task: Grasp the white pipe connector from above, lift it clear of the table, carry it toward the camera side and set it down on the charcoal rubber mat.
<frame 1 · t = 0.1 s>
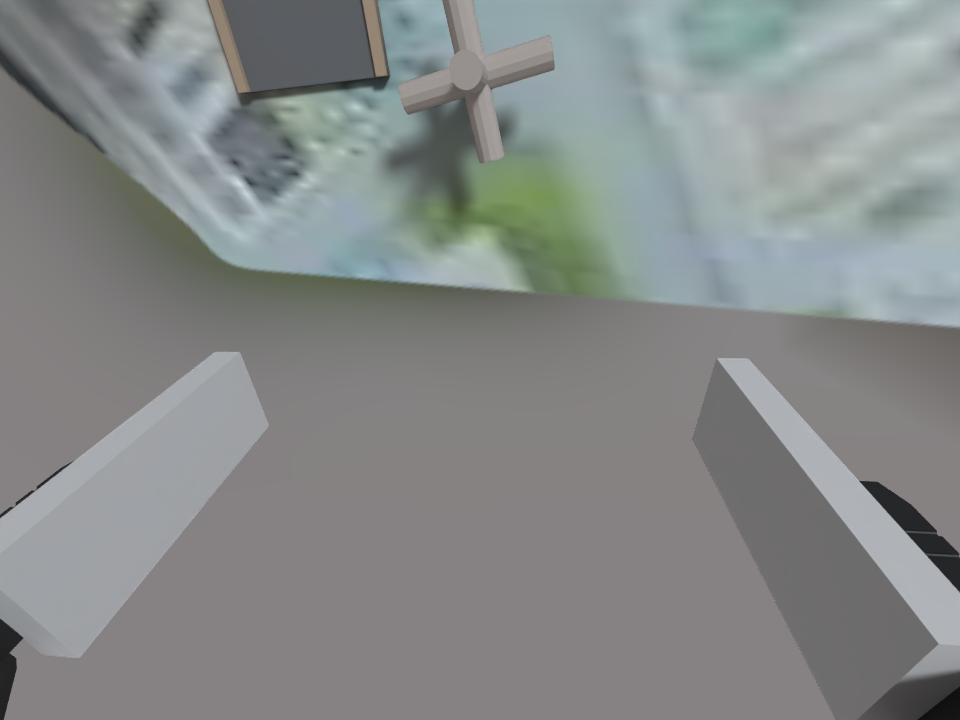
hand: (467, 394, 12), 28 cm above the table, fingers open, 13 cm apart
pipe connector: (482, 81, 31), on the table
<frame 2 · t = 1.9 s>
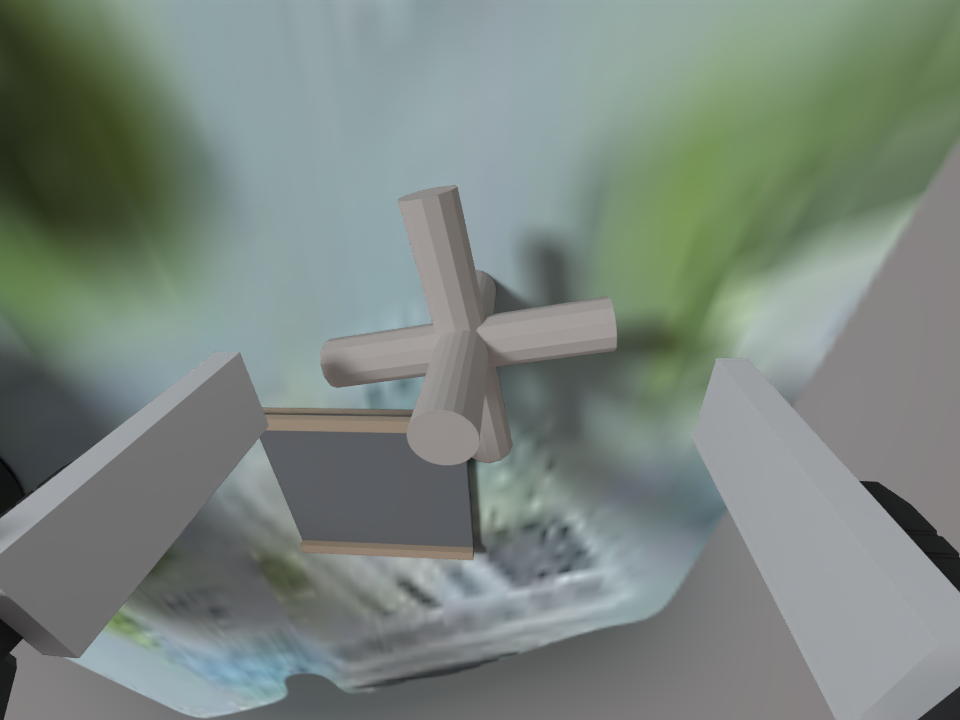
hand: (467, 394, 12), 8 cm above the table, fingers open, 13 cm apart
mat: (375, 484, 26), on the table
pipe connector: (476, 287, 19), on the table
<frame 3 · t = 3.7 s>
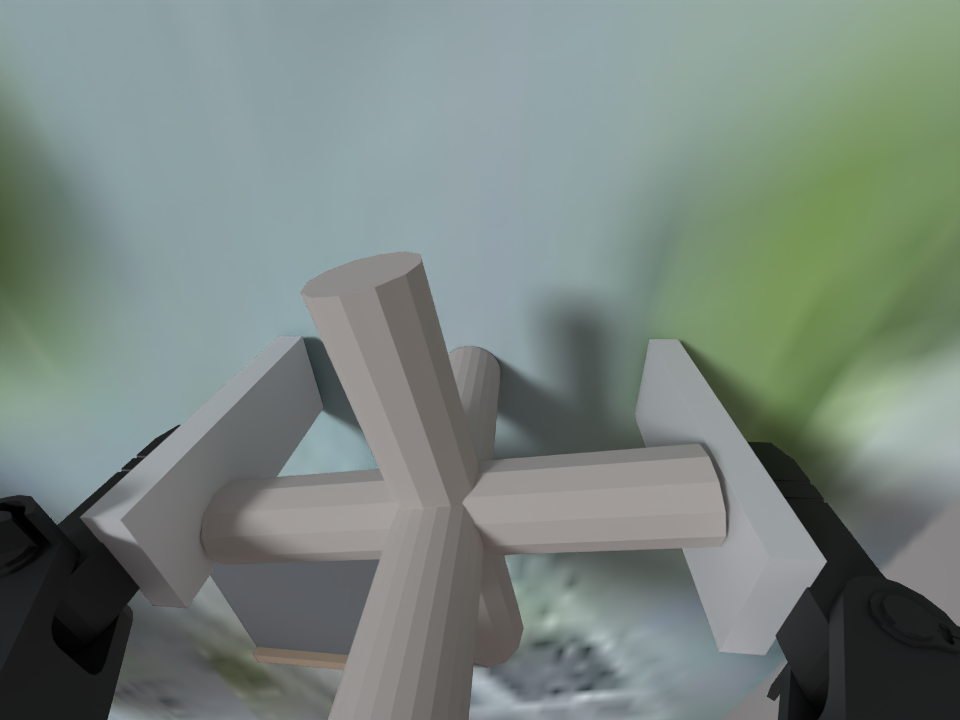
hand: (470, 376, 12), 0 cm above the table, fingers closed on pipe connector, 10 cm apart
mat: (344, 591, 20), on the table
pipe connector: (472, 368, 13), on the table, touching gripper
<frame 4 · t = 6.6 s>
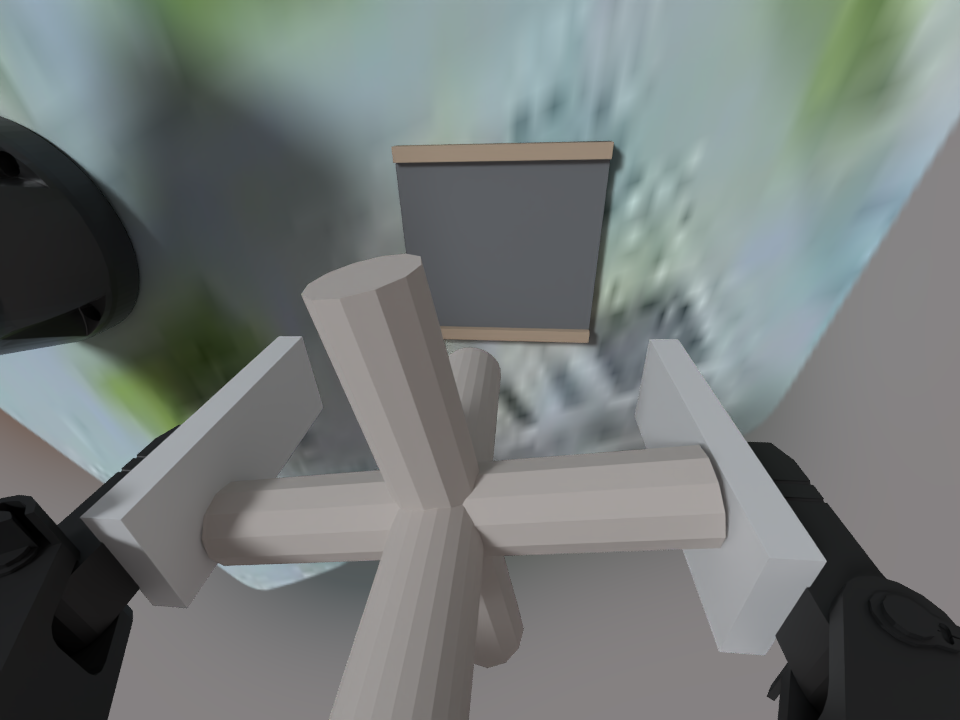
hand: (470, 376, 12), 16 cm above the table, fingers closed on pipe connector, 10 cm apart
mat: (500, 249, 26), on the table
pipe connector: (472, 369, 13), point 15 cm above the table, touching gripper
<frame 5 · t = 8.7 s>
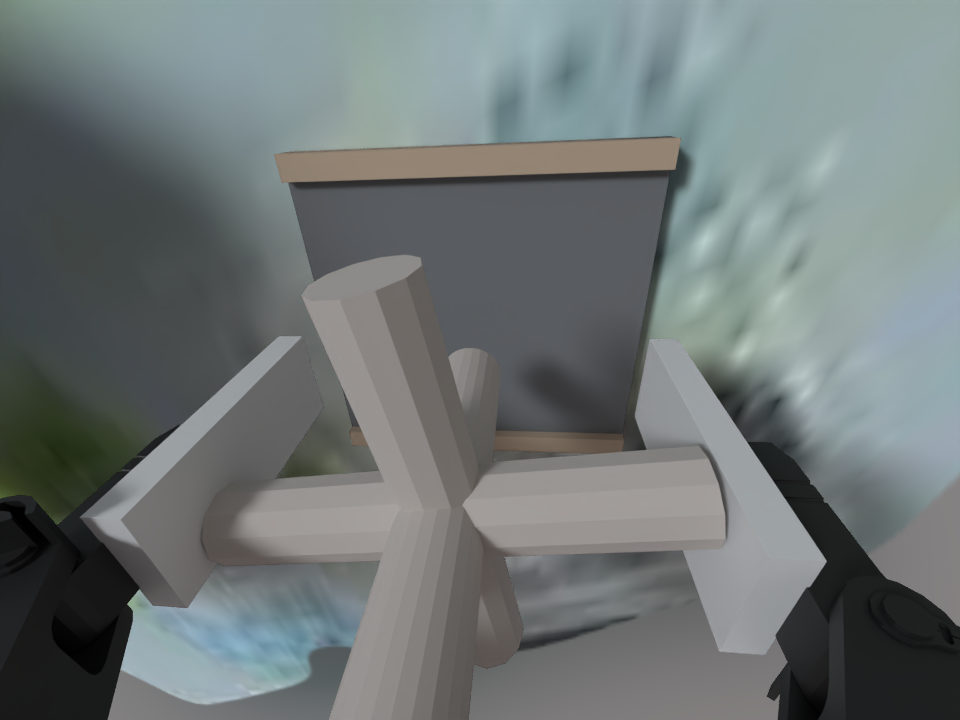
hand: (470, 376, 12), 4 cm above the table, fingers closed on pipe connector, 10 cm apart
mat: (479, 317, 16), on the table
pipe connector: (472, 369, 13), point 4 cm above the table, touching gripper
when the fingers open (3 cm above the table, at t = 10.0 s): pipe connector drops 2 cm, resting on mat.
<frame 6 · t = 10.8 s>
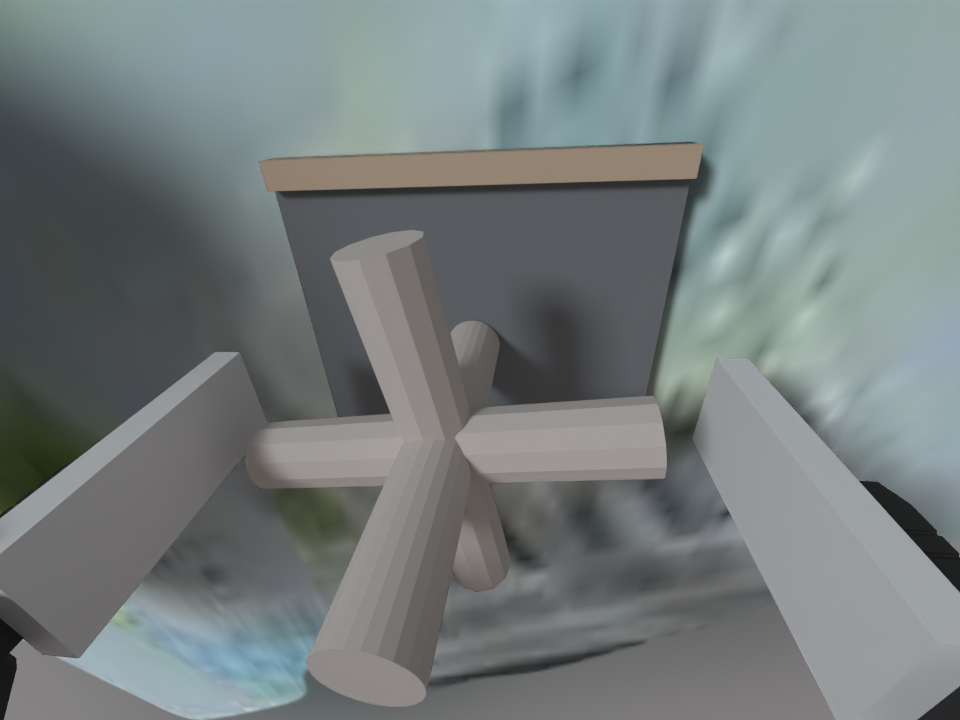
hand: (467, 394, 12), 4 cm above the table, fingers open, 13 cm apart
mat: (481, 334, 15), on the table
pipe connector: (475, 341, 15), resting on mat
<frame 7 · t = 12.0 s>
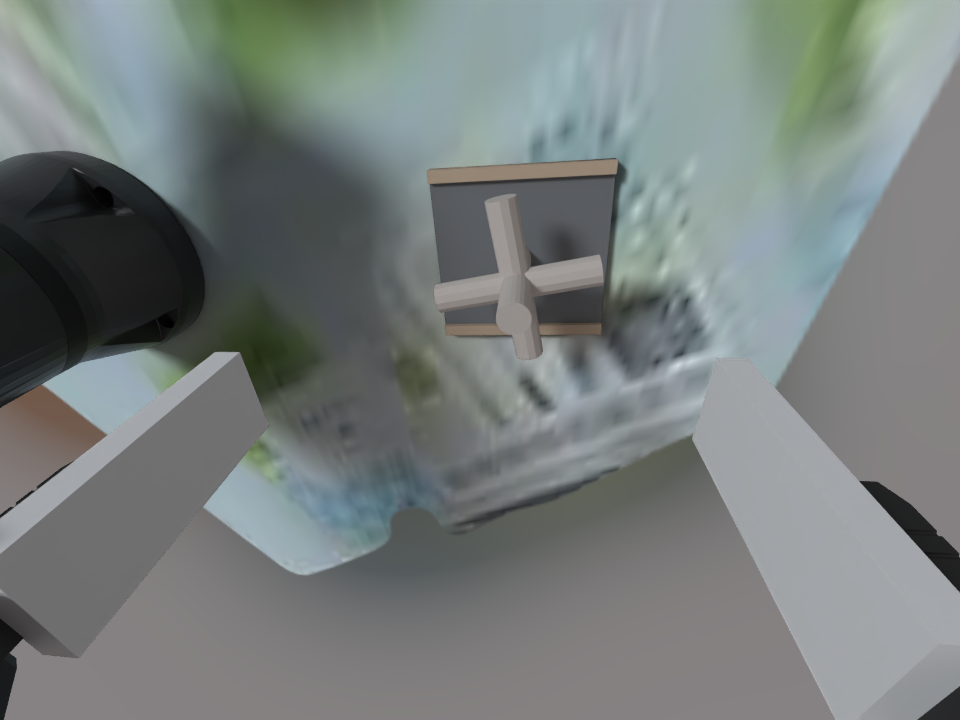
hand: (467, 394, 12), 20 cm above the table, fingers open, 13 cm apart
mat: (521, 254, 30), on the table
pipe connector: (518, 256, 29), resting on mat
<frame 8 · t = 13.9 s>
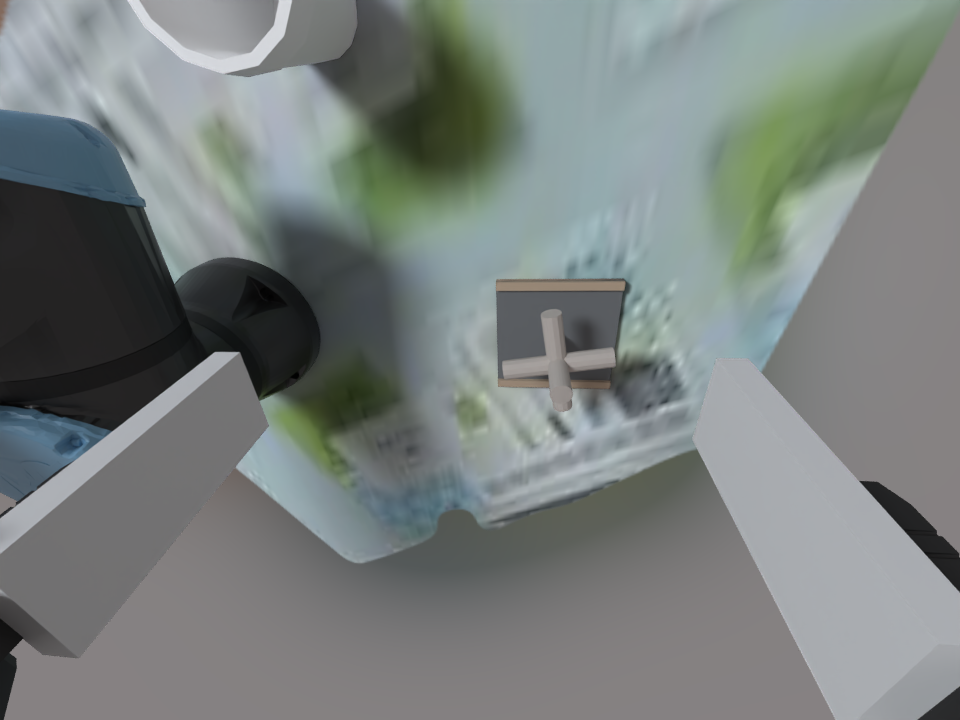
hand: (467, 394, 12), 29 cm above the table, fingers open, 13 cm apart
mat: (555, 334, 42), on the table
foam cup: (317, 10, 31), on the table
pipe connector: (554, 336, 42), resting on mat
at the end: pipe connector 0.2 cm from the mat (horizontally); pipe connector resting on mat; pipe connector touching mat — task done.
